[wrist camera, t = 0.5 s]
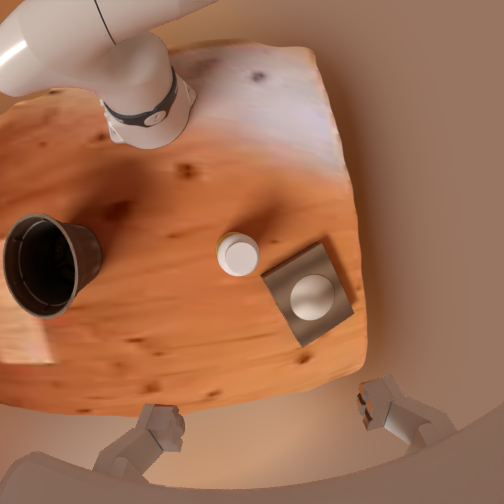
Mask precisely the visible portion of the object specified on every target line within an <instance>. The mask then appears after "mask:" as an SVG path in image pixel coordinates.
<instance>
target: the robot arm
mask: <svg viewBox="0 0 504 504" xmlns="http://www.w3.org/2000/svg"><path fill="white" fill-rule="evenodd" d="M217 1H218V0H25V1H24V2H22V3H21V4H20V5H19V6H18V7H17V8H16V9H15V10H14V11H13V12H12V13H11V14H10V15H9V16H8V17H7V18H6V19H5V20H4V21H3V22H2V24H1V25H0V92H2V93H4V94H6V95H10V96H15V97H23V96H25V95H28V94H31V93H34V92H37V91H40V90H45V89H50V88H63V87H67V88H80V89H86V90H90V91H92V92H94V93H95V94H96V95H98V96H99V97H100V98H99V100H100V104H101V106H102V107H105V112H104V114H105V117H106V118H107V122H108V127H109V132H110V137H111V140H112V141H113V142H114V143H127V144H130V145H132V146H134V147H137V148H141V149H155V148H159V147H162V146H164V145H166V144H168V143H170V142H171V141H173V140H174V139H175V138H177V137H178V136H179V135H180V133H181V132H182V131H183V129H184V128H185V126H186V124H187V121H188V117H189V111H190V107H191V106H192V104H193V103H194V101H195V99H196V93H195V91H194V90H193V89H192V88H191V87H190V86H189V85H188V84H187V83H186V82H185V81H184V80H183V79H182V78H181V77H180V76H179V75H178V74H177V73H176V72H175V71H174V69H173V67H172V66H171V64H170V59H169V55H168V50H167V47H166V45H165V43H164V42H163V40H162V39H161V38H159V37H158V36H156V35H155V34H153V33H151V32H149V31H148V30H150V29H153V28H155V27H158V26H161V25H164V24H166V23H169V22H172V21H175V20H178V19H180V18H182V17H184V16H186V15H188V14H190V13H193V12H195V11H197V10H199V9H201V8H203V7H206V6H208V5H210V4H212V3H214V2H217ZM114 132H115V133H114ZM358 389H359V391H360V393H359V394H358V395H357V406H358V410H359V413H360V414H362V415H363V416H364V417H363V423H364V425H365V428H366V430H367V431H369V430H372V429H376V428H379V427H383V426H384V427H385V428H386V429H387V430H389V431H390V432H392V433H393V434H395V435H396V436H398V437H399V438H401V439H402V440H403V441H405V442H406V443H408V444H409V445H410V446H409V448H408V449H407V451H406V453H405V455H404V456H403V457H400V458H398V459H395V460H392V461H389V462H386V463H384V464H381V465H378V466H374V467H371V468H368V469H365V470H361V471H358V472H354V473H351V474H346V475H343V476H338V477H334V478H330V479H324V480H319V481H314V482H308V483H303V484H297V485H289V486H280V487H270V488H259V489H258V488H257V489H231V490H230V489H228V490H227V489H226V490H223V489H220V490H219V489H194V488H182V487H171V486H163V485H156V484H150V483H149V482H148V481H147V480H146V479H145V478H144V477H143V476H142V474H143V473H144V472H145V471H146V470H147V469H148V468H149V467H150V466H151V465H152V464H153V463H154V462H155V461H156V460H157V458H159V456H160V455H161V454H162V453H163V451H168V452H180V451H181V446H182V439H181V438H180V437H181V436H182V435H183V434H184V432H185V422H184V419H183V417H182V416H181V415H180V414H178V413H179V409H178V407H177V405H161V404H145V405H144V406H143V409H142V411H141V414H140V417H139V419H138V422H137V425H136V427H135V428H132V429H131V430H129V431H128V432H127V433H126V434H124V435H123V436H121V437H120V438H119V439H117V440H116V441H115V442H113V443H112V444H110V445H109V446H108V447H106V448H105V449H104V450H102V451H101V452H100V453H99V456H98V458H97V460H96V463H95V465H94V467H93V470H89V469H85V468H82V467H79V466H76V465H73V464H70V463H67V462H65V461H62V460H59V459H57V458H54V457H52V456H49V455H47V454H44V453H42V452H39V451H35V452H32V453H30V454H28V455H26V456H24V457H22V458H20V459H18V460H16V461H15V462H14V463H13V464H12V465H11V466H10V468H9V469H8V470H7V472H6V474H5V475H4V477H3V479H2V480H1V482H0V504H504V402H503V403H501V404H500V405H498V406H497V407H496V408H494V409H493V410H491V411H490V412H488V413H487V414H485V415H483V416H482V417H480V418H479V419H477V420H476V421H474V422H472V423H471V424H469V425H467V426H466V427H464V428H462V429H460V430H458V431H457V430H456V428H455V426H454V425H453V423H452V422H451V420H450V418H449V417H448V415H447V414H446V413H444V412H442V411H439V410H437V409H435V408H433V407H430V406H428V405H426V404H424V403H421V402H419V401H417V400H415V399H412V398H411V397H405V396H404V394H403V393H402V391H401V389H400V388H399V386H398V384H397V383H396V381H395V379H394V378H393V376H392V375H387V376H384V377H381V378H376V379H373V380H370V381H366V382H362V383H360V384H359V388H358Z"/></svg>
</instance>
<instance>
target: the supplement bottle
mask: <svg viewBox="0 0 504 504" xmlns="http://www.w3.org/2000/svg"><path fill="white" fill-rule="evenodd" d="M216 255H217V258H218V262H219V264H220V266H221V267H222V269H223V270H224V271H225V272H227V273H228V274H230V275H233V276H244V275H247V274H249V273H250V272H252V271H253V270H254V269H255V268H256V266H257V264H258V262H259V259H260V251H259V247H258V245H257V243H256V242H255V241H254V240H253V239H252V238H251V237H249V236H247V235H245V234H242V233H239V232H228V233H226V234H224V235H223V236H221V237H220V239H219V240H218V242H217V245H216Z"/></svg>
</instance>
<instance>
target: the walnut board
mask: <svg viewBox="0 0 504 504" xmlns="http://www.w3.org/2000/svg"><path fill="white" fill-rule="evenodd" d="M260 276H261V277H262V279H263V281H264V283H265V284H266V286H267V288H268V290H269V291H270V293H271V295H272V297H273V299H274V300H275V302H276V304H277V306H278V307H279V309H280V311H281V313H282V314H283V316H284V318H285V320H286V321H287V323H288V325H289V327H290V328H291V330H292V332H293V334H294V335H295V337H296V339H297V341H298V342H299V344H300V345H301V346H302V347H304V346H306V345H308V344H309V343H311V342H312V341H314V340H315V339H317V338H319V337H320V336H322V335H323V334H325V333H326V332H328V331H329V330H331V329H332V328H334V327H335V326H337V325H338V324H340V323H341V322H343V321H344V320H346V319H347V318H348V317H350V316H351V315H353V314H354V312H353V309H352V307H351V305H350V303H349V300H348V298H347V296H346V293H345V291H344V289H343V287H342V285H341V282H340V280H339V278H338V276H337V274H336V271H335V269H334V267H333V265H332V263H331V261H330V259H329V257H328V254H327V252H326V250H325V248H324V246H323V244H322V243H319V242H315V243H314V244H312V245H310V246H309V247H307V248H305V249H304V250H302V251H300V252H299V253H297V254H296V255H294V256H292V257H291V258H289V259H287V260H286V261H284V262H282V263H280V264H279V265H277V266H275V267H274V268H272V269H270V270H269V271H267V272H265V273H264V274H262V275H260Z"/></svg>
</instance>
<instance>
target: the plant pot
mask: <svg viewBox="0 0 504 504" xmlns="http://www.w3.org/2000/svg"><path fill="white" fill-rule="evenodd" d="M59 242H61V243H60V248H59V253H58V254H57V247H58V244H59ZM68 258H70V261H69V260H68ZM101 262H102V251H101V247H100V245H99V243H98V240H97V238H96V236H95V235H94V234H93V232H91V231H90V230H89V229H87V228H86V227H84V226H80V225H73V224H67V223H62V222H60V221H58V220H55V219H53V218H52V217H50V216H48V215H45V214H39V213H33V214H28V215H26V216H24V217H22V218H21V219H19V220H18V221H17V222H16V223H15V224H14V225H13V227H12V228H11V230H10V231H9V233H8V235H7V238H6V241H5V244H4V250H3V270H4V276H5V280H6V283H7V286H8V288H9V291H10V293H11V294H12V296H13V298H14V299H15V301H16V302H17V303H18V305H19V306H20V307H21V308H22V309H24V310H25V311H26V312H28V313H29V314H31V315H33V316H35V317H38V318H42V319H51V318H55V317H57V316H59V315H61V314H62V313H64V312H65V311H66V310H67V309H68V308H69V306H70V305H71V303H72V302H73V300H74V298H75V297H76V295H77V294H78V292H79V291H80V290H81V289H83V288H84V287H85V286H86V285H87V284H88V283H90V282H91V281H92V280H93V279H94V278H95V277H96V275H97V274H98V272H99V269H100V266H101ZM67 275H70V276H72V277H75V280H73V279H71V278H69V277H68V276H67Z"/></svg>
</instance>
